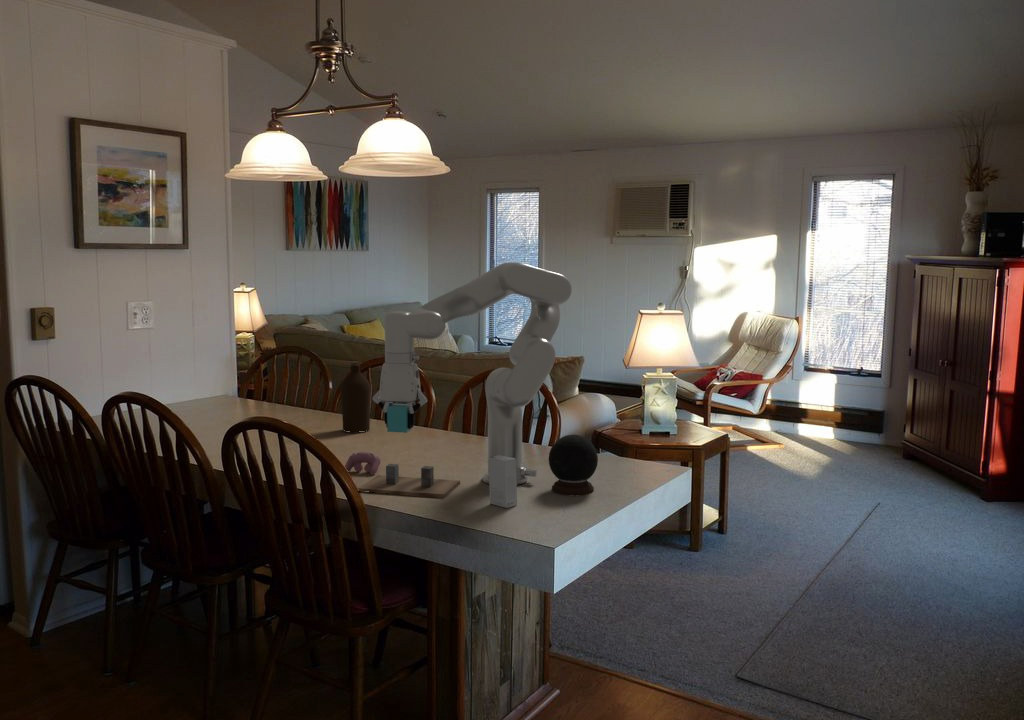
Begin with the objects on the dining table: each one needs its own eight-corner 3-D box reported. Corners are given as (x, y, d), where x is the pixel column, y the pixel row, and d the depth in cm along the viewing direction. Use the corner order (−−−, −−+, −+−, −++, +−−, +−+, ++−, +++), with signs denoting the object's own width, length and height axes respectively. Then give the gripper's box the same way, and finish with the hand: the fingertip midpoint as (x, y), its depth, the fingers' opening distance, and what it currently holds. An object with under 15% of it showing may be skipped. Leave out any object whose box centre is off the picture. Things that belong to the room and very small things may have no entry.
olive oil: (353, 434, 295) (352, 364, 292) (335, 430, 302) (333, 361, 299) (377, 430, 303) (376, 361, 300) (358, 426, 310) (357, 359, 307)
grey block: (398, 482, 229) (398, 464, 228) (395, 484, 226) (395, 466, 226) (389, 481, 229) (389, 463, 229) (386, 484, 227) (385, 466, 226)
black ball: (585, 499, 217) (586, 442, 215) (539, 492, 223) (540, 436, 222) (605, 487, 228) (606, 433, 227) (561, 481, 235) (561, 428, 233)
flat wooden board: (459, 484, 231) (459, 462, 230) (444, 498, 217) (444, 475, 217) (378, 478, 236) (377, 457, 236) (358, 491, 223) (357, 469, 222)
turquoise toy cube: (412, 428, 224) (412, 404, 223) (406, 432, 219) (406, 407, 218) (393, 427, 225) (393, 403, 224) (387, 431, 220) (387, 406, 219)
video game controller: (379, 478, 243) (383, 454, 245) (373, 475, 239) (377, 451, 241) (348, 476, 245) (352, 452, 248) (341, 472, 241) (346, 448, 243)
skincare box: (517, 505, 211) (518, 458, 210) (505, 509, 208) (505, 461, 207) (500, 500, 216) (500, 454, 214) (487, 504, 212) (487, 457, 211)
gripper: (435, 358, 222) (435, 426, 224) (373, 356, 225) (374, 423, 227) (426, 361, 214) (427, 431, 216) (363, 359, 217) (364, 428, 220)
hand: (400, 426), depth 222 cm, fingers closed on turquoise toy cube, 5 cm apart
